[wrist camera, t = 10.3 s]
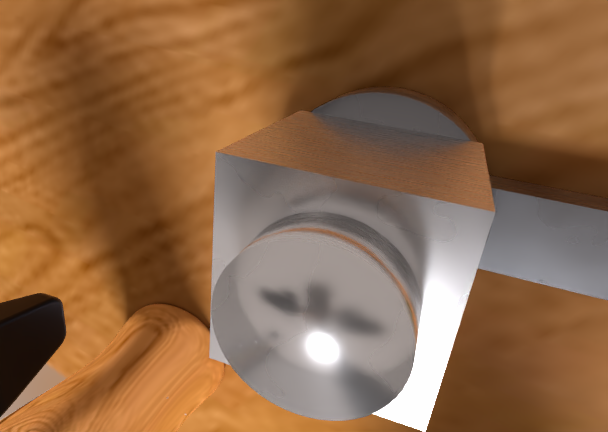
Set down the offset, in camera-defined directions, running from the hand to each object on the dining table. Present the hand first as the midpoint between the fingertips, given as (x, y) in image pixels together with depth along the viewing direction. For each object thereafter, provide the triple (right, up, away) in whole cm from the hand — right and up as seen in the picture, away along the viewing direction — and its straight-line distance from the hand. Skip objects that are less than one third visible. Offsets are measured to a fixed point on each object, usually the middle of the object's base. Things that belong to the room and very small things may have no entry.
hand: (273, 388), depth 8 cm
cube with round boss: (+3, +3, +8) cm, 9 cm away
